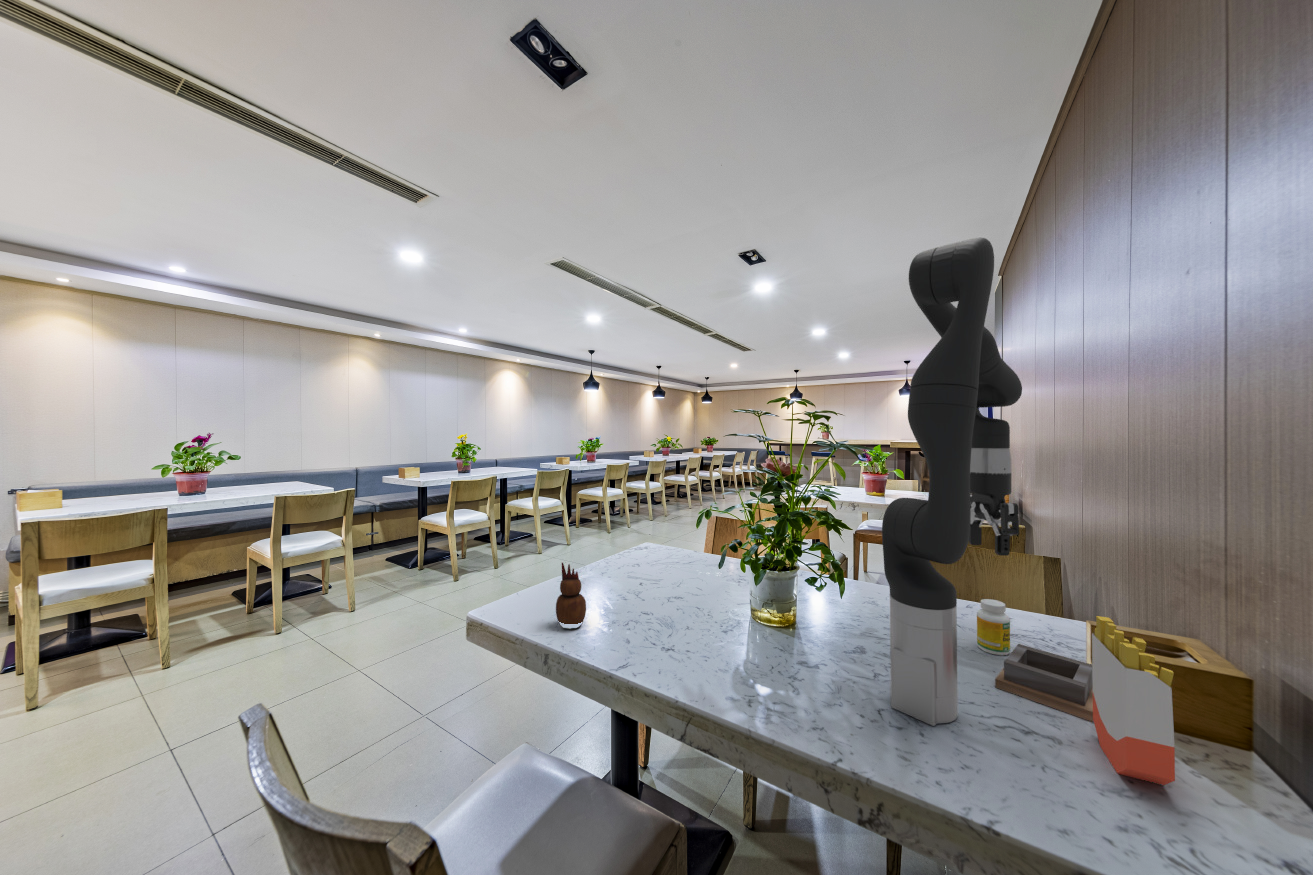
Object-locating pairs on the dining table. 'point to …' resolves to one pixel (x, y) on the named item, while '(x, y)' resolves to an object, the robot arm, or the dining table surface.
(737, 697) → the dining table surface
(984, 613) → the supplement bottle
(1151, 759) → the french fries container
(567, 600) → the wooden figurine
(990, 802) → the dining table surface
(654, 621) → the dining table surface
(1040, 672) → the collar stand
